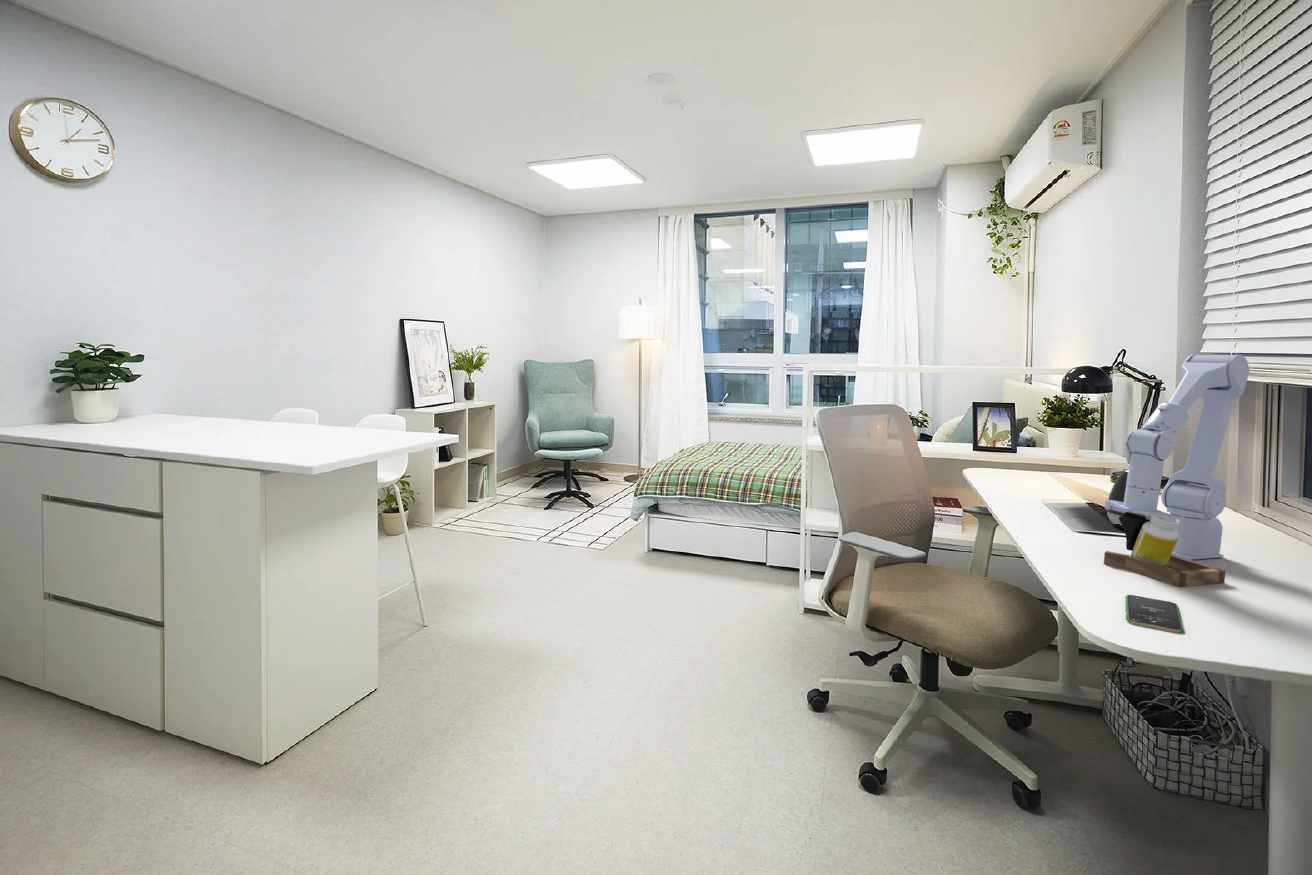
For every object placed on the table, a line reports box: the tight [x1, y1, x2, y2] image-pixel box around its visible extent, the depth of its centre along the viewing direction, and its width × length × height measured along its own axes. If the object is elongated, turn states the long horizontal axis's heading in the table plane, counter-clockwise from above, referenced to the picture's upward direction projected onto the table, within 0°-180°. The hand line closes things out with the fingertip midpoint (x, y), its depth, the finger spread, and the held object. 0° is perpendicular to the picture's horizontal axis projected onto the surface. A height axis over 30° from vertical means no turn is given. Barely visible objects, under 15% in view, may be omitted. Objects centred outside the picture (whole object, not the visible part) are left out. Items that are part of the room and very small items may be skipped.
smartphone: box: [1124, 594, 1185, 634], centre depth 113 cm, size 8×1×15 cm
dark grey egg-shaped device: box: [1105, 468, 1145, 525], centre depth 169 cm, size 10×10×15 cm
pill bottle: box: [1130, 512, 1180, 567], centre depth 136 cm, size 6×6×11 cm
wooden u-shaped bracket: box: [1103, 550, 1227, 588], centre depth 135 cm, size 15×15×2 cm
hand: (1133, 550), depth 140 cm, fingers closed, pressing on pill bottle
